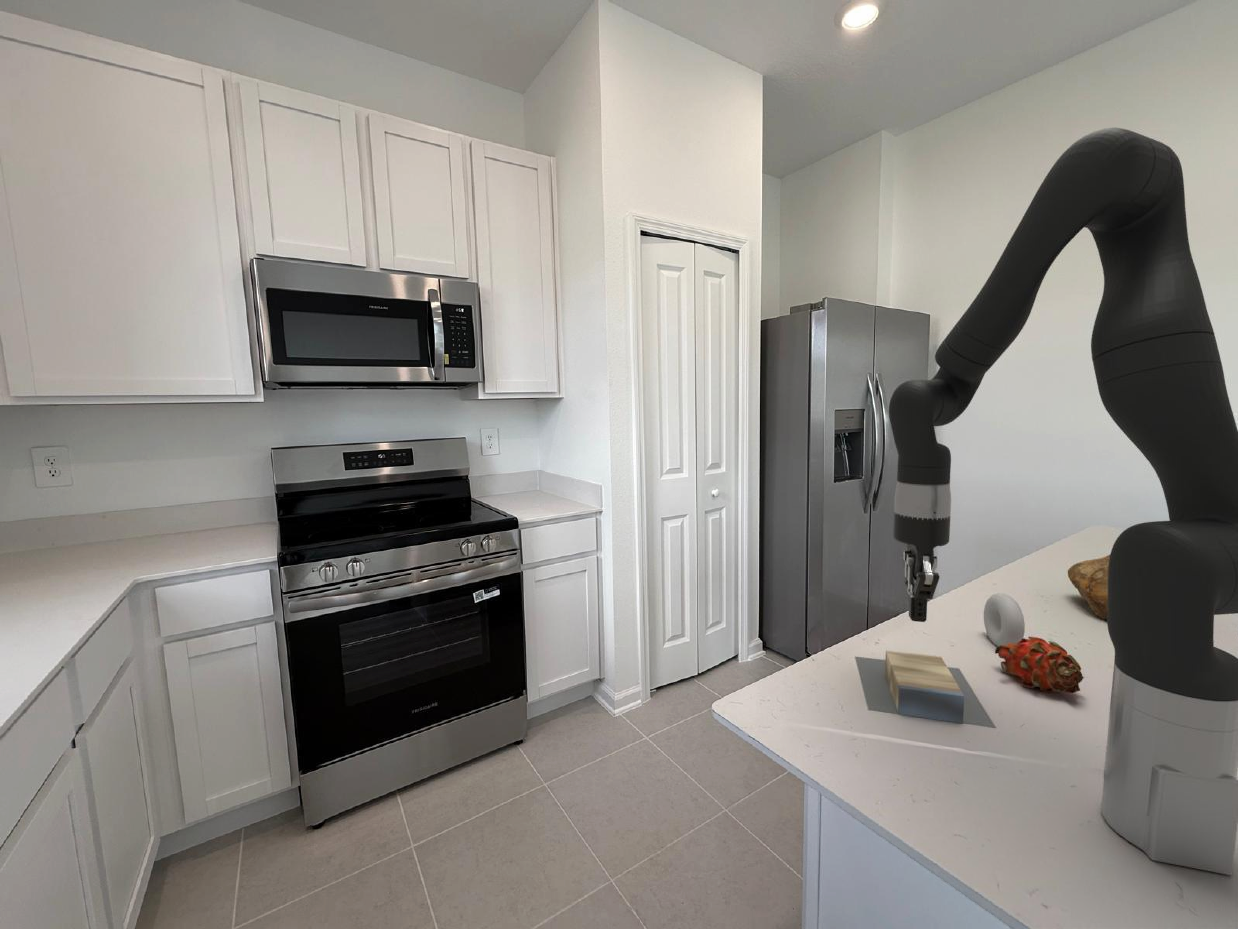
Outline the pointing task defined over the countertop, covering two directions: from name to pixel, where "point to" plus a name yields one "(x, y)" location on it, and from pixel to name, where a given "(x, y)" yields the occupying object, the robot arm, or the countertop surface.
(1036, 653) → the dragon fruit
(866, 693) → the rubber mat
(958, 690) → the maple block
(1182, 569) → the robot arm
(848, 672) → the countertop surface
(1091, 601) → the rough brown rock
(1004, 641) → the donut
